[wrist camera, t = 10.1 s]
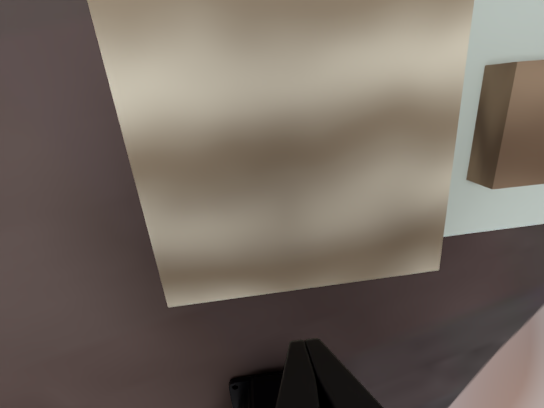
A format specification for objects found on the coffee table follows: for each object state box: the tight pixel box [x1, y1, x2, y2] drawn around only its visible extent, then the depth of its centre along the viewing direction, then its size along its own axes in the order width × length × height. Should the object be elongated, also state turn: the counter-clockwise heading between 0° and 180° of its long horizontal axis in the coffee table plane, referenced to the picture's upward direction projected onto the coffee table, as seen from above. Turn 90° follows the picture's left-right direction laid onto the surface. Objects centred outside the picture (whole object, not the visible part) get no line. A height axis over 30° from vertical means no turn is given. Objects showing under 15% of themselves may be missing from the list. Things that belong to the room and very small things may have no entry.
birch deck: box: [87, 0, 474, 307], centre depth 16 cm, size 16×16×4 cm
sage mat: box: [443, 0, 544, 237], centre depth 19 cm, size 16×13×1 cm
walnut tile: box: [466, 60, 544, 189], centre depth 18 cm, size 7×6×2 cm
